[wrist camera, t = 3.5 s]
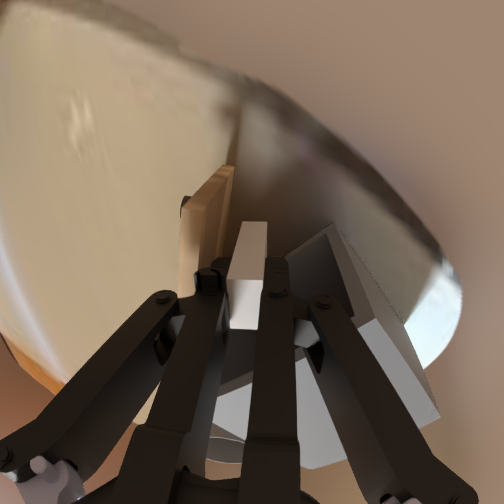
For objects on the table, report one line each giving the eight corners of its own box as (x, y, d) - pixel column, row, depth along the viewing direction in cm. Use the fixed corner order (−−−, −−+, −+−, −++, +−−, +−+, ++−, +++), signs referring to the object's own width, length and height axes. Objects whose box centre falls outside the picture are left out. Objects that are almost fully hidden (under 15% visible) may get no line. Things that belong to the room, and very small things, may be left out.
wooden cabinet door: (193, 303, 29) (160, 388, 19) (206, 161, 23) (152, 203, 13) (217, 308, 29) (192, 396, 19) (236, 166, 23) (205, 211, 13)
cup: (192, 386, 37) (176, 446, 28) (225, 360, 34) (212, 429, 25) (240, 410, 39) (233, 467, 30) (277, 388, 36) (275, 453, 27)
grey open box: (218, 302, 30) (188, 407, 18) (333, 221, 25) (375, 317, 13) (306, 379, 34) (310, 469, 23) (403, 325, 30) (441, 416, 18)
